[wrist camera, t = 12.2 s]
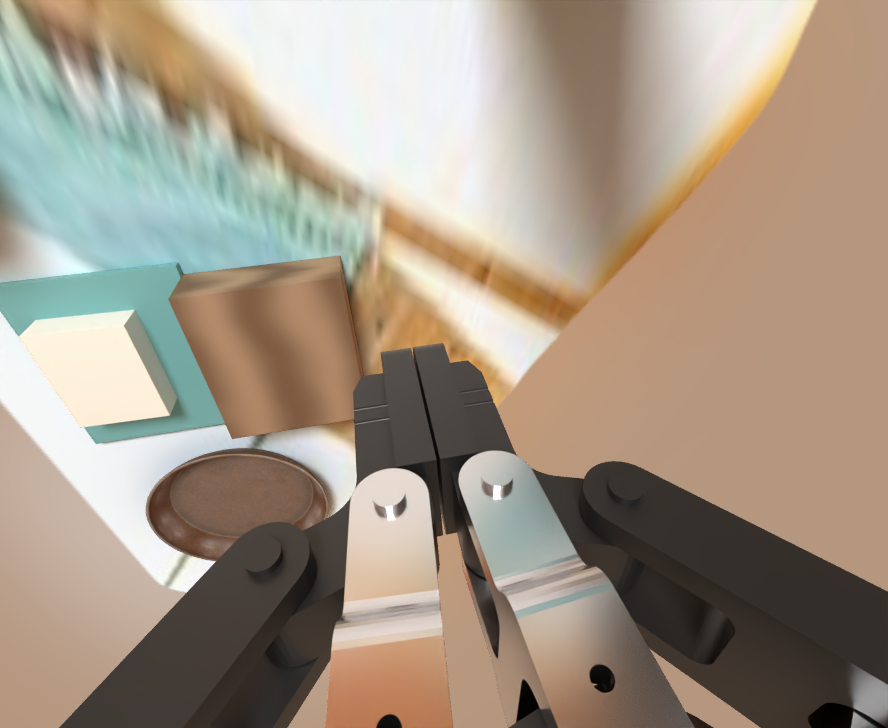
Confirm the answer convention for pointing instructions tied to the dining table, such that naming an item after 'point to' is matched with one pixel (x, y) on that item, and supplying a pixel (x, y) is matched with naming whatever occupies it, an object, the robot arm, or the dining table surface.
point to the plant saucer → (231, 499)
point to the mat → (150, 301)
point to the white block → (101, 367)
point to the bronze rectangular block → (273, 343)
